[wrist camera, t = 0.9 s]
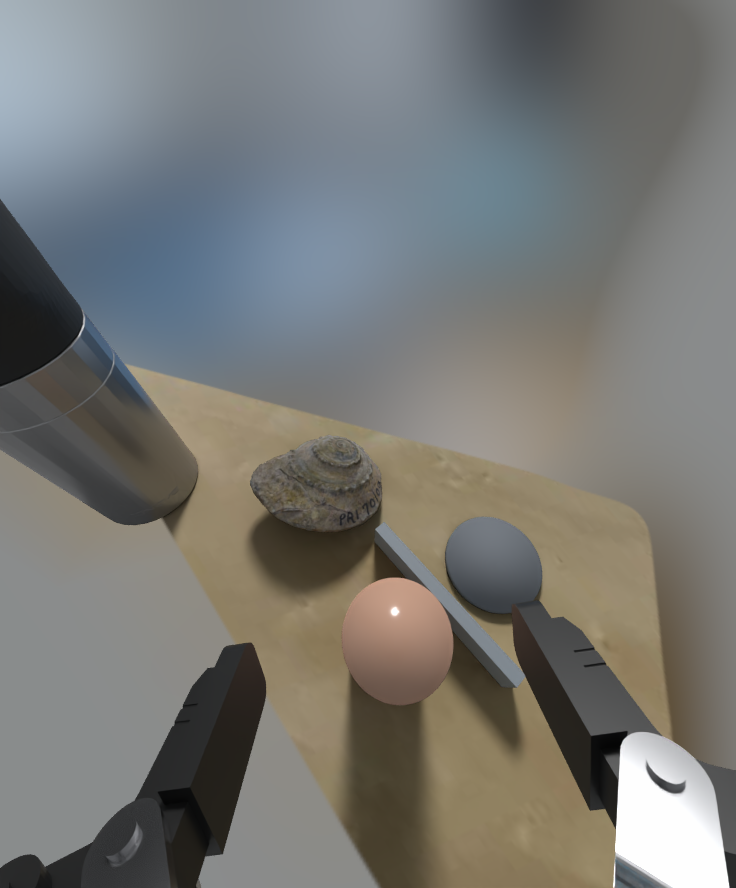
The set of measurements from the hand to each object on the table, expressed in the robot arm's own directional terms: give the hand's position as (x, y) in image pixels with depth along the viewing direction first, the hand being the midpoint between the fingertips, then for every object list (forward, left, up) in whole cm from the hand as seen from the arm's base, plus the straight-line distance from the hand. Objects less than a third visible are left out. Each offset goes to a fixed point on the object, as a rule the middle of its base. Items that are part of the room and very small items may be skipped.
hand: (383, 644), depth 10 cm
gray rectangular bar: (0, +7, -18) cm, 19 cm away
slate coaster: (+1, +13, -18) cm, 22 cm away
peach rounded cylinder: (0, +1, -18) cm, 18 cm away
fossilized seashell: (-14, +6, -19) cm, 24 cm away
